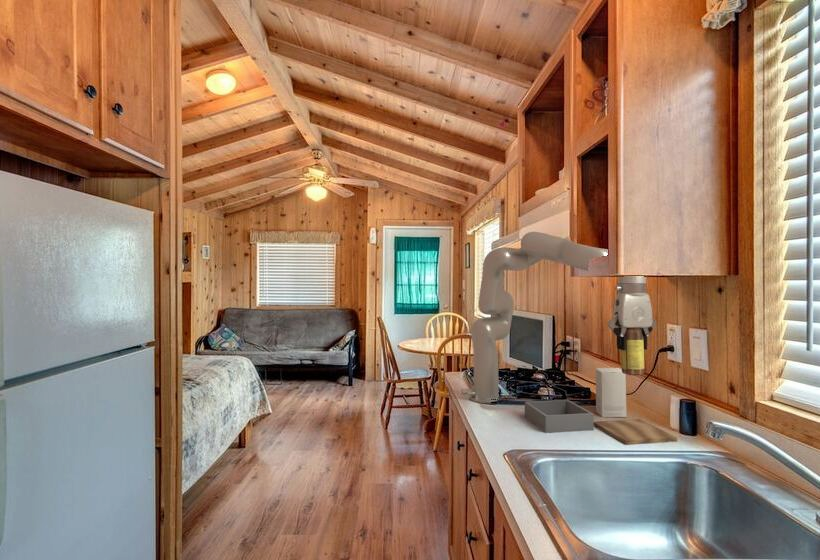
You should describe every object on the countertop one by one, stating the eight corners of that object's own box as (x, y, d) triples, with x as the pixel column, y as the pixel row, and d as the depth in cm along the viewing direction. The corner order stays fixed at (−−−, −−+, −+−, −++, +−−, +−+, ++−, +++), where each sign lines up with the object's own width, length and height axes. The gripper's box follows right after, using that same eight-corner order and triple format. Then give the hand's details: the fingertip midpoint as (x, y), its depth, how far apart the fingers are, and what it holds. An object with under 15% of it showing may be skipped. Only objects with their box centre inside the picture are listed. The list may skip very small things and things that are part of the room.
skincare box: (619, 412, 148) (619, 367, 148) (627, 418, 142) (627, 371, 142) (594, 411, 149) (594, 367, 149) (601, 417, 143) (601, 371, 143)
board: (625, 444, 119) (625, 440, 119) (593, 425, 135) (593, 421, 135) (677, 441, 121) (677, 437, 121) (639, 422, 137) (639, 419, 137)
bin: (545, 432, 129) (545, 416, 129) (524, 416, 144) (524, 401, 144) (593, 430, 131) (593, 413, 131) (567, 414, 146) (567, 399, 146)
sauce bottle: (648, 374, 127) (648, 308, 127) (636, 377, 124) (637, 309, 124) (627, 370, 133) (627, 307, 133) (615, 373, 129) (615, 307, 129)
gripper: (613, 290, 123) (613, 352, 123) (667, 289, 126) (667, 350, 126) (598, 289, 131) (598, 347, 131) (649, 289, 133) (649, 346, 133)
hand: (632, 348), depth 128 cm, fingers closed on sauce bottle, 6 cm apart
